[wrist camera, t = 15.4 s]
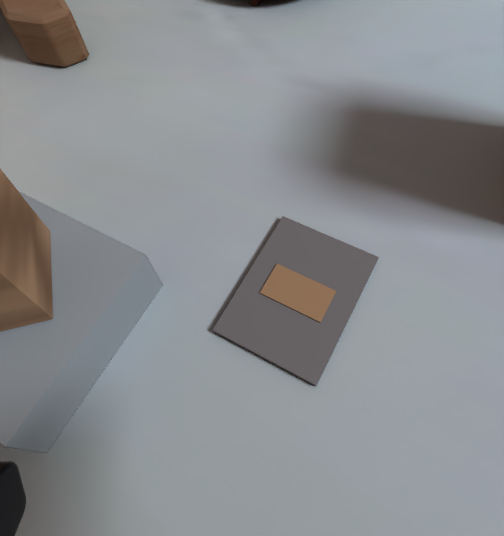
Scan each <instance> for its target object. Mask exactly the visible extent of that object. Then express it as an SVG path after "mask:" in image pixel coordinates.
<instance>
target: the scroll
mask: <svg viewBox="0 0 504 536" xmlns="http://www.w3.org/2000/svg"><path fill="white" fill-rule="evenodd" d="M259 1H260V0H250V2H251V4H252V5H253V6H257V5H258V3H259Z"/></svg>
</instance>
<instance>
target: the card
mask: <svg viewBox="0 0 504 536" xmlns="http://www.w3.org/2000/svg"><path fill="white" fill-rule="evenodd" d="M378 258H379V257H377V256H374V255H372V254H370V253H367V252H365V251H363V250H360V249H358V248H356V247H353V246H351V245H349V244H346V243H344V242H342V241H339V240H337V239H335V238H332V237H330V236H328V235H325V234H323V233H321V232H318V231H316V230H314V229H311V228H309V227H307V226H304V225H302V224H300V223H297V222H295V221H293V220H290V219H288V218H286V217H282V218H281V220H280V221H279V223H278V225H277V226H276V228H275V230H274V231H273V233H272V234H271V236H270V238H269V239H268V241H267V242H266V244H265V246H264V247H263V249H262V251H261V252H260V254H259V255H258V257H257V259H256V260H255V262H254V263H253V265H252V267H251V268H250V270H249V272H248V273H247V275H246V276H245V278H244V280H243V281H242V283H241V284H240V286H239V288H238V289H237V291H236V293H235V294H234V296H233V297H232V299H231V301H230V302H229V304H228V306H227V307H226V309H225V310H224V312H223V314H222V315H221V317H220V318H219V320H218V322H217V323H216V325H215V327H214V328H213V332H215V333H217V334H218V335H220V336H222V337H224V338H226V339H228V340H230V341H232V342H233V343H235V344H237V345H239V346H241V347H243V348H245V349H247V350H248V351H250V352H252V353H254V354H256V355H258V356H260V357H262V358H263V359H265V360H267V361H269V362H271V363H273V364H275V365H277V366H278V367H280V368H282V369H284V370H286V371H288V372H290V373H292V374H293V375H295V376H297V377H299V378H301V379H303V380H305V381H307V382H308V383H310V384H312V385H314V386H316V385H317V383H318V381H319V379H320V377H321V375H322V373H323V371H324V369H325V367H326V365H327V363H328V361H329V359H330V357H331V354H332V352H333V350H334V348H335V346H336V344H337V342H338V340H339V338H340V336H341V334H342V332H343V330H344V328H345V326H346V324H347V322H348V320H349V317H350V315H351V313H352V311H353V309H354V307H355V305H356V303H357V301H358V299H359V297H360V295H361V293H362V291H363V289H364V287H365V285H366V283H367V280H368V278H369V276H370V274H371V272H372V270H373V268H374V266H375V264H376V262H377V260H378Z"/></svg>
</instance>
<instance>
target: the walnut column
mask: <svg viewBox="0 0 504 536" xmlns="http://www.w3.org/2000/svg"><path fill="white" fill-rule="evenodd" d="M51 319H53V299H52V269H51V239H50V230H49V229H48V228H47V227H46V225H45V224H44V223H43V222H42V220H41V219H40V218H39V217H38V215H37V214H36V213H35V212H34V210H33V209H32V208H31V207H30V205H29V204H28V203H27V202H26V200H25V199H24V198H23V197H22V195H21V194H20V193H19V192H18V190H17V189H16V188H15V187H14V185H13V184H12V183H11V182H10V180H9V179H8V178H7V177H6V175H5V174H4V173H3V172H2V170H1V169H0V332H1V331H5V330H10V329H14V328H18V327H22V326H26V325H30V324H34V323H39V322H43V321H47V320H51Z"/></svg>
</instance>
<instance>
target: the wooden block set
mask: <svg viewBox="0 0 504 536" xmlns="http://www.w3.org/2000/svg"><path fill="white" fill-rule="evenodd" d="M0 8H1V10H2V12H3V14H4V16H5V18H6V20H7V22H8V23H9V25H10V27H11V28H12V30H13V32H14V34H15V35H16V37H17V39H18V41H19V42H20V44H21V46H22V47H23V49H24V51H25V53H26V54H27V56H28V58H29V59H30V60H32V61H33V62H36V63H42V64H49V65H55V66H61V67H69V66H72V65H74V64H77V63H79V62H82V61H84V60H87V57H88V55H89V52H88V50H87V48H86V46H85V43H84V41H83V39H82V36H81V34H80V32H79V29H78V27H77V25H76V22H75V20H74V18H73V16H72V13H71V11H70V9H69V8H68V6H67V4H66V3H65V1H64V0H0Z"/></svg>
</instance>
